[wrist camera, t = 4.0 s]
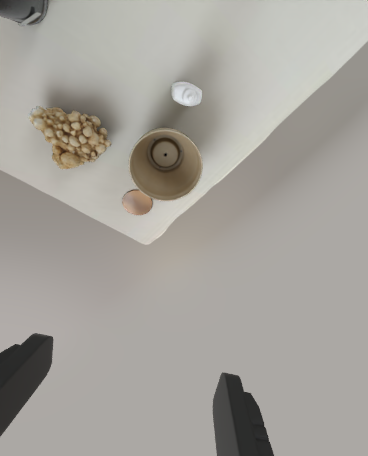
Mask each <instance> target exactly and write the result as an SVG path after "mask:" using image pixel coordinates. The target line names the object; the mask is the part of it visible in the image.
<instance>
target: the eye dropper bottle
mask: <svg viewBox="0 0 368 456" xmlns="http://www.w3.org/2000/svg"><path fill="white" fill-rule="evenodd" d="M171 95H172V97H173V99H174V100H175V101H176V102H178V103H179V104H181V105H184V106H195V105H198V104H200V102H201V99H202V91H201V90H200V89H199V88H198V87H196V86H194V85H193V84H191V83H188V82H183V81H181V82H175V83H173V84H172V89H171Z"/></svg>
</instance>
